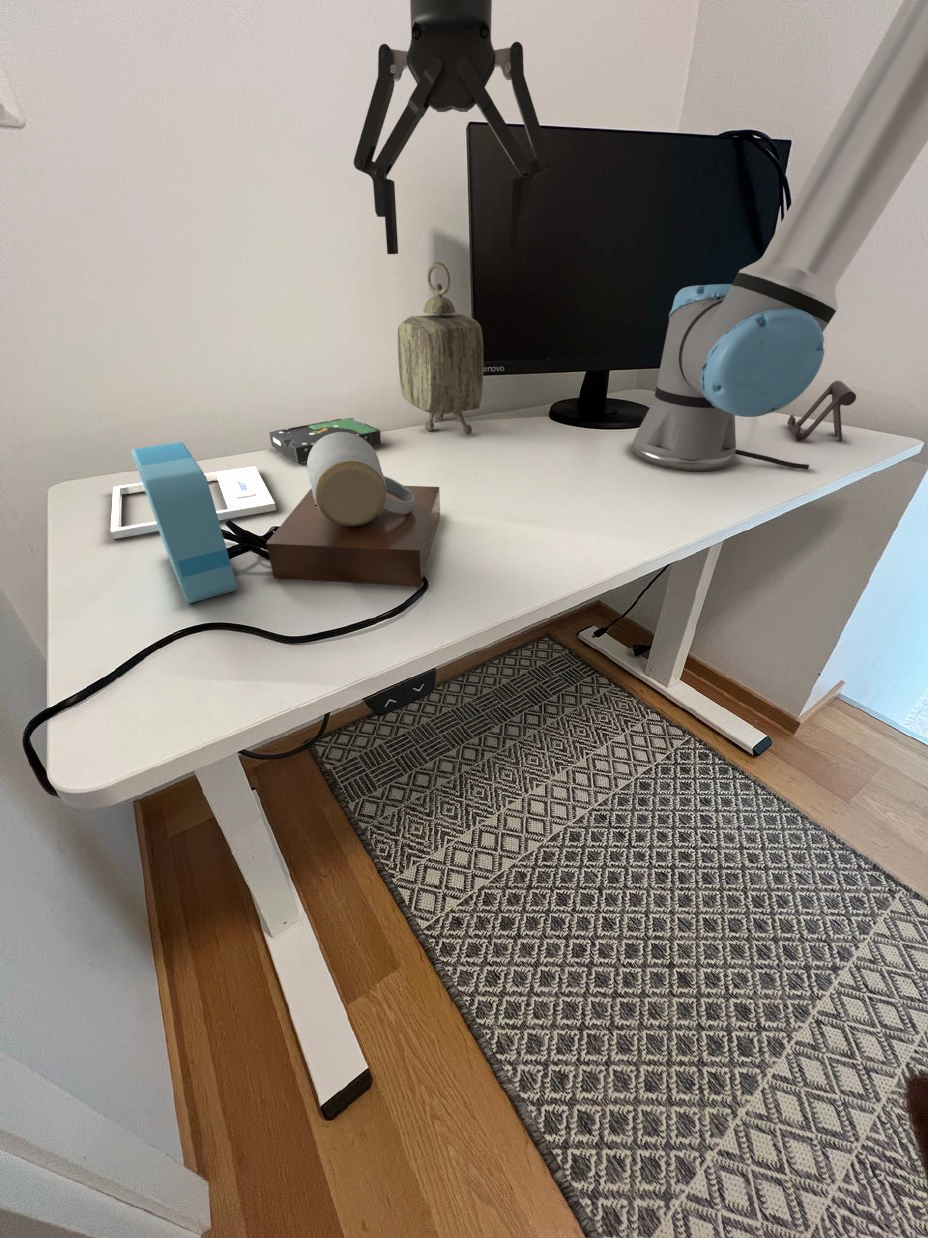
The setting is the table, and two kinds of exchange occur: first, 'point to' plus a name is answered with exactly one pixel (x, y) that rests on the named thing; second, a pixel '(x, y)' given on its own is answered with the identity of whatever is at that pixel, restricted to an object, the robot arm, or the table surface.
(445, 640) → the table surface
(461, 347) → the tabletop clock
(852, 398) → the tablet stand
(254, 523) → the table surface
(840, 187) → the robot arm
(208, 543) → the blue rounded block
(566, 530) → the table surface
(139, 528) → the photo frame
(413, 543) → the walnut riser
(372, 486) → the ceramic mug
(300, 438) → the disk drive
